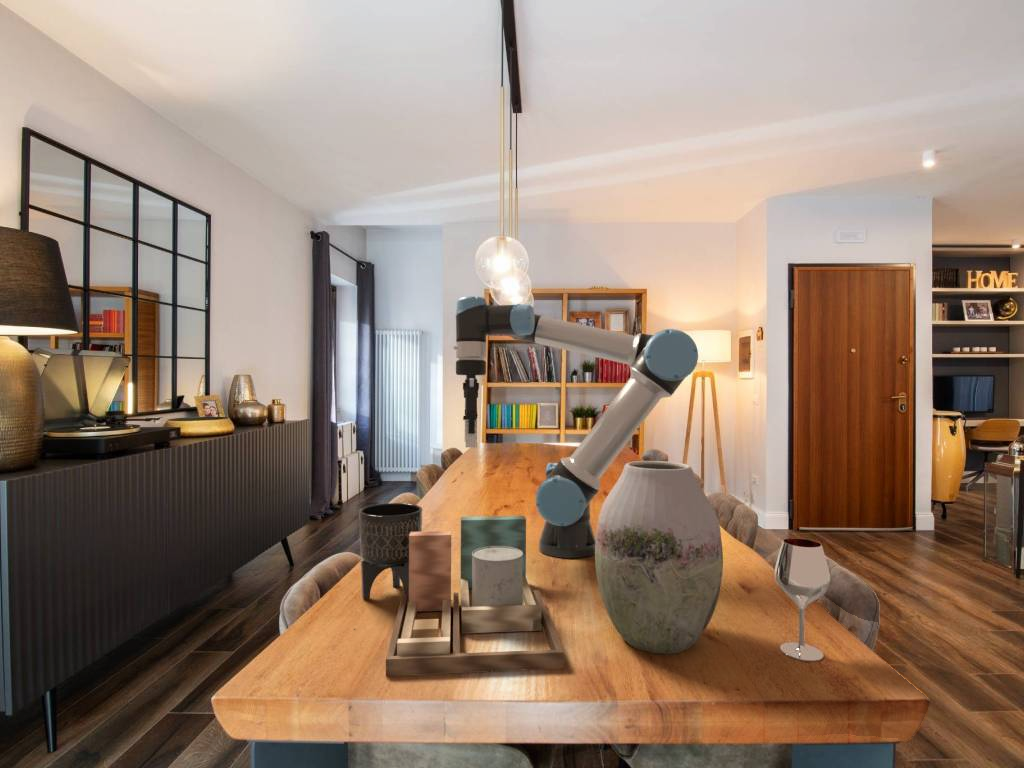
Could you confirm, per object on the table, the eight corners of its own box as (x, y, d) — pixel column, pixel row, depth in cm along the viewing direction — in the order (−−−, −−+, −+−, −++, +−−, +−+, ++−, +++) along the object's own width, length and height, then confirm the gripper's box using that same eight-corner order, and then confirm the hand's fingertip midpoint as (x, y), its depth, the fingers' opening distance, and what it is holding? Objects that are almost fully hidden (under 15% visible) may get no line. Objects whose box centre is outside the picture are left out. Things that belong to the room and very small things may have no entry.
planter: (366, 611, 111) (367, 518, 111) (352, 589, 123) (352, 506, 123) (430, 599, 117) (431, 512, 117) (411, 580, 129) (411, 500, 129)
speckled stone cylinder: (527, 611, 111) (528, 548, 111) (515, 632, 102) (516, 562, 102) (480, 606, 114) (480, 544, 114) (464, 626, 104) (464, 558, 104)
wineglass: (764, 642, 99) (765, 536, 99) (810, 640, 99) (810, 535, 99) (791, 665, 91) (792, 550, 91) (841, 663, 91) (841, 549, 91)
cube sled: (450, 604, 114) (451, 531, 114) (449, 667, 89) (450, 572, 89) (409, 605, 113) (410, 531, 113) (396, 669, 88) (397, 574, 88)
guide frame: (538, 602, 116) (538, 590, 116) (563, 668, 89) (563, 652, 89) (402, 607, 113) (402, 594, 113) (385, 676, 86) (385, 659, 86)
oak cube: (438, 642, 98) (438, 618, 98) (437, 653, 94) (437, 628, 94) (414, 643, 98) (414, 619, 98) (412, 654, 94) (412, 629, 94)
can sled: (524, 581, 128) (524, 516, 128) (541, 630, 102) (541, 548, 102) (460, 583, 126) (460, 517, 126) (461, 633, 101) (462, 550, 101)
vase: (750, 658, 93) (751, 471, 93) (631, 677, 87) (632, 476, 87) (676, 609, 113) (677, 455, 113) (575, 621, 107) (576, 459, 107)
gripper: (455, 361, 157) (455, 439, 157) (456, 356, 132) (455, 450, 132) (483, 361, 157) (483, 439, 157) (488, 357, 133) (488, 449, 133)
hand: (470, 444), depth 145 cm, fingers open, 13 cm apart
